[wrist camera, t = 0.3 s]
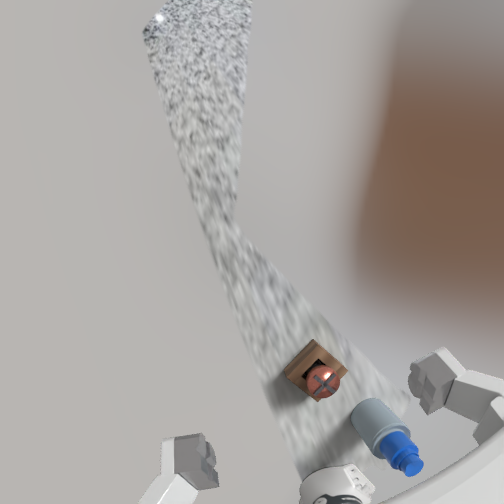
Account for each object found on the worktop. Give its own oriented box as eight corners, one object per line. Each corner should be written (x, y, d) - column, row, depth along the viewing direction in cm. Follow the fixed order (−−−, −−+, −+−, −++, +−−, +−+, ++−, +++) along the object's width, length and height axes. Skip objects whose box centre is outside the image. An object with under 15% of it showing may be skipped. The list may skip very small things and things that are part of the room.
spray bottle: (391, 411, 61) (442, 460, 36) (364, 435, 61) (405, 493, 36) (372, 391, 61) (423, 441, 37) (343, 416, 61) (383, 476, 36)
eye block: (341, 363, 62) (348, 370, 57) (312, 393, 61) (317, 402, 56) (312, 338, 62) (318, 344, 57) (283, 369, 62) (286, 377, 57)
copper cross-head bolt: (332, 364, 62) (346, 381, 51) (313, 384, 61) (324, 404, 51) (313, 348, 62) (325, 363, 51) (293, 368, 62) (302, 387, 51)
